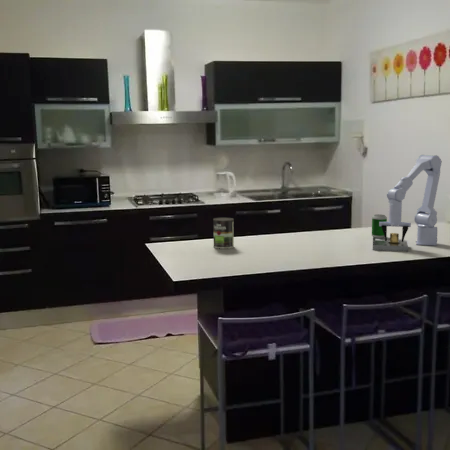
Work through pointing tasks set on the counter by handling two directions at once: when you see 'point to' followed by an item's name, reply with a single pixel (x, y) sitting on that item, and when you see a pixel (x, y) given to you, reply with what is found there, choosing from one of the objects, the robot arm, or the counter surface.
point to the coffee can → (223, 232)
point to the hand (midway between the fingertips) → (394, 241)
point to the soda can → (377, 229)
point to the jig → (389, 245)
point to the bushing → (394, 238)
